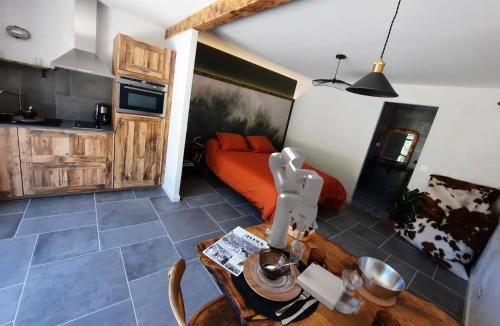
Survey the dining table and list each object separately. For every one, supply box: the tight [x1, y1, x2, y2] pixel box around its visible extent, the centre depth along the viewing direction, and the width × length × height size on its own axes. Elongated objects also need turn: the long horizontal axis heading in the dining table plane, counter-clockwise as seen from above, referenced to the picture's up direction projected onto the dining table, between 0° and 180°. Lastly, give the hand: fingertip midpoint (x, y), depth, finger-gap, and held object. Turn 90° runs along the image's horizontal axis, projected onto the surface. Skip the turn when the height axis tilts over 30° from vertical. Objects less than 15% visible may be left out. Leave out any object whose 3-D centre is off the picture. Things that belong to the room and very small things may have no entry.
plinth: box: [295, 262, 346, 311], centre depth 103 cm, size 18×18×3 cm
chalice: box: [290, 215, 307, 250], centre depth 107 cm, size 7×7×18 cm
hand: (299, 233), depth 107 cm, fingers closed on chalice, 5 cm apart
